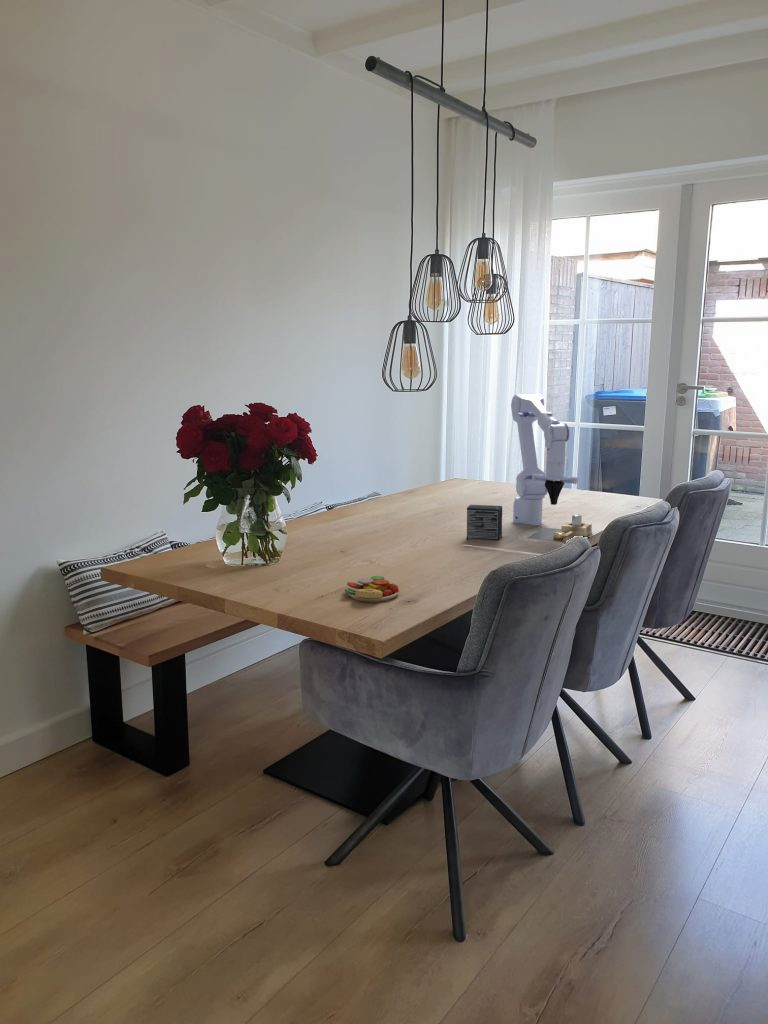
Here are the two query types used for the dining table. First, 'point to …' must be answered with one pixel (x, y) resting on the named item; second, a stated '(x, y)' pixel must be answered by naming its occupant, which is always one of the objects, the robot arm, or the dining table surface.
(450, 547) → the dining table surface
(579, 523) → the steel pin
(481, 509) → the small box
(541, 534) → the slate board
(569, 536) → the beech rail
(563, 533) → the gold metal dome
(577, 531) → the beech socket block
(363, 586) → the toy food set
